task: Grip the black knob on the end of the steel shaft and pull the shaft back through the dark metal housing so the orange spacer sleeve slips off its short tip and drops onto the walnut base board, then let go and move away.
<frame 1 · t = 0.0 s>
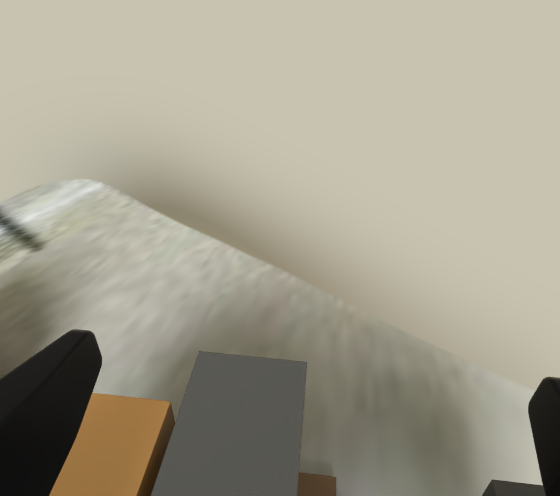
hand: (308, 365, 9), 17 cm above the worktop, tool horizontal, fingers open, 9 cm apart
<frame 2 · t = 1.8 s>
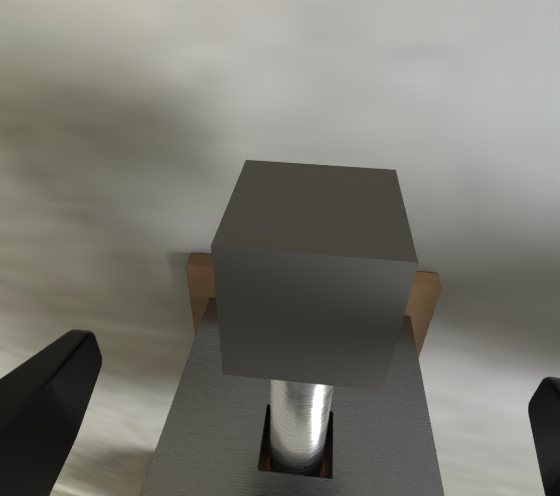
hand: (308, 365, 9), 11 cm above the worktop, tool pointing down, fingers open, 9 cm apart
stand: (305, 345, 25), on the worktop
shaft: (297, 442, 16), point 8 cm above the worktop, slide at 0.0 cm, touching spacer
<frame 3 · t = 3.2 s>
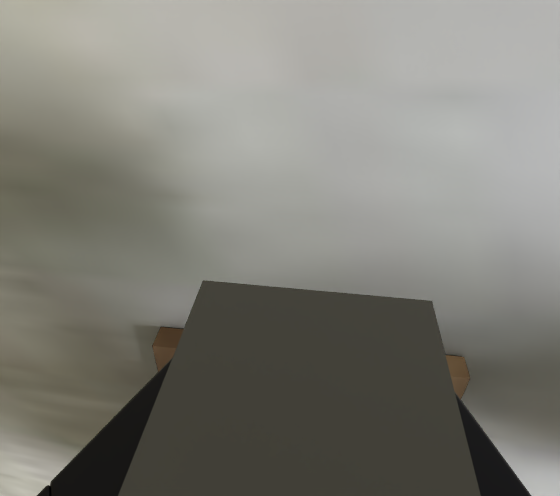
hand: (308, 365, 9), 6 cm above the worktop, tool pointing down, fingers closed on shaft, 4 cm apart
stand: (300, 426, 21), on the worktop
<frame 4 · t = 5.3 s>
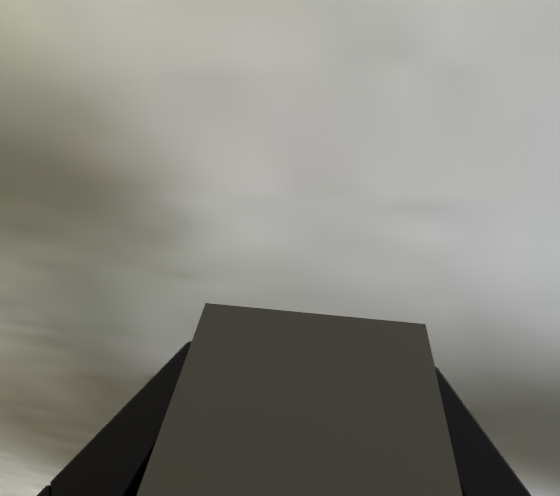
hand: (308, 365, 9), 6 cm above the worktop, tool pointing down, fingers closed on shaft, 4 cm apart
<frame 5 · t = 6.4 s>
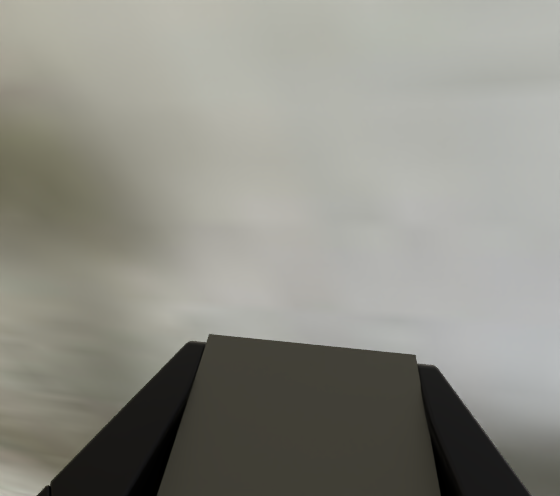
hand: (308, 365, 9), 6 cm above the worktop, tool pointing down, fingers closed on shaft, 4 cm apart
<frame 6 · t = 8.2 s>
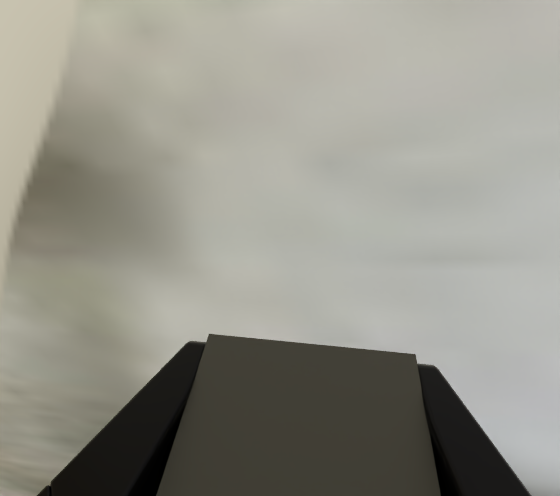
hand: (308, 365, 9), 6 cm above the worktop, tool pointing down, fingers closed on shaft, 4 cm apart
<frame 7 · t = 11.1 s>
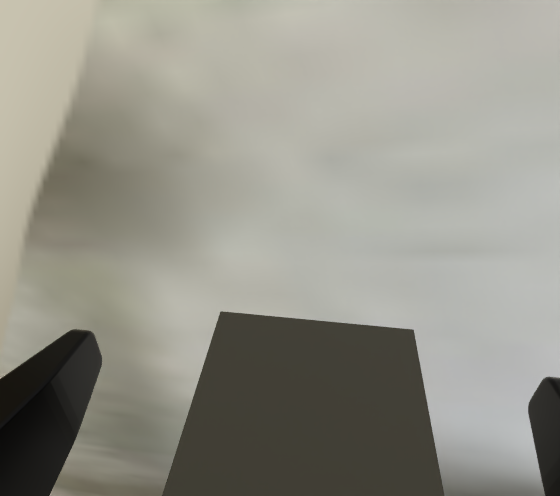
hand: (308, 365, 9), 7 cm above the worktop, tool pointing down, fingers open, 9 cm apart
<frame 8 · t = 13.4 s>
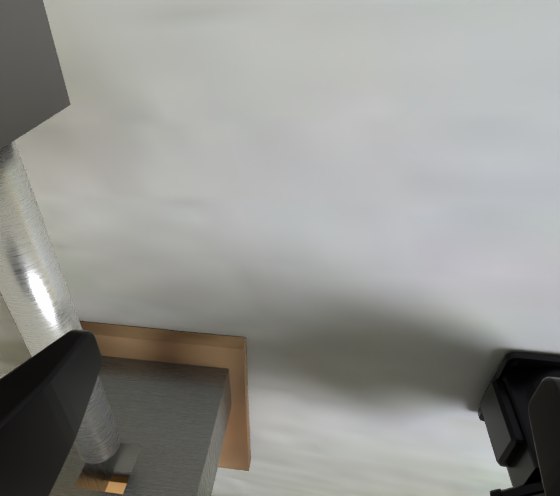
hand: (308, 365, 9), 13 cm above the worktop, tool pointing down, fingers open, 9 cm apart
stand: (167, 385, 32), on the worktop
spacer: (167, 418, 33), point 1 cm above the worktop, touching stand
shaft: (36, 291, 16), point 8 cm above the worktop, slide at 12.6 cm
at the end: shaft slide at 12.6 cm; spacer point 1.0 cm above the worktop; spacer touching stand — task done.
